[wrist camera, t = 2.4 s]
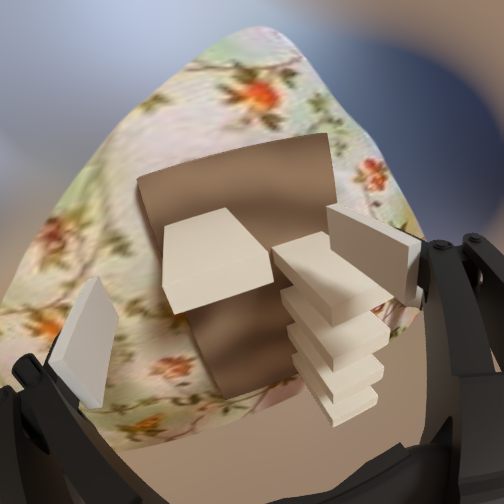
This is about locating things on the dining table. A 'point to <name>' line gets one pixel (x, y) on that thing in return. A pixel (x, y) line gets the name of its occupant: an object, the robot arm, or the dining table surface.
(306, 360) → the domino
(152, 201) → the walnut board
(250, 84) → the dining table surface
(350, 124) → the dining table surface
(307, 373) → the domino
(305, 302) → the domino
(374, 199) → the dining table surface
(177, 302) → the domino
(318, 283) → the domino
